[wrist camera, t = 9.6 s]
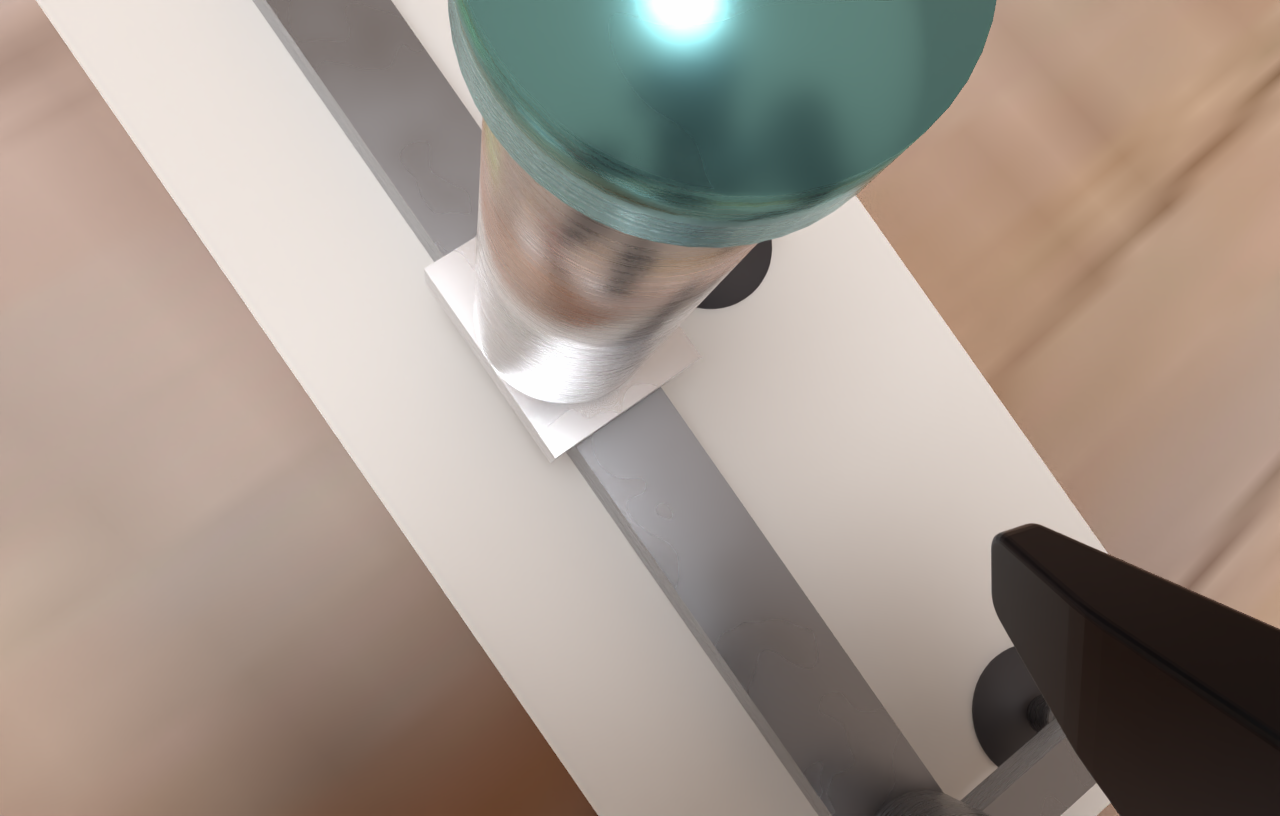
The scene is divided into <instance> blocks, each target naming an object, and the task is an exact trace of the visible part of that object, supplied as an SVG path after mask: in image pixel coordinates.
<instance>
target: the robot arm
mask: <svg viewBox="0 0 1280 816" xmlns="http://www.w3.org/2000/svg"><path fill="white" fill-rule="evenodd" d="M991 594H992V601H993V605H994V608H995V611H996V614H997V616H998V618H999V620H1000V622H1001V624H1002V626H1003V627H1004V629H1005V631H1006V633H1007V634H1008V636H1009V638H1010V640H1011V641H1012V643H1013V645H1014V647H1015V648H1016V650H1017V652H1018V654H1019V655H1020V657H1021V659H1022V661H1023V662H1024V664H1025V666H1026V668H1027V669H1028V671H1029V673H1030V675H1031V676H1032V678H1033V680H1034V682H1035V683H1036V685H1037V687H1038V689H1039V690H1040V692H1041V694H1042V696H1043V698H1044V699H1045V701H1046V703H1047V705H1048V706H1049V708H1050V710H1051V712H1052V713H1053V715H1054V717H1055V719H1056V720H1057V722H1058V724H1059V726H1060V727H1061V729H1062V731H1063V733H1064V734H1065V736H1066V738H1067V739H1068V741H1069V743H1070V744H1071V746H1072V748H1073V749H1074V751H1075V753H1076V754H1077V756H1078V757H1079V759H1080V760H1081V761H1082V763H1083V764H1084V766H1085V767H1086V769H1087V770H1088V772H1089V773H1090V775H1091V776H1092V777H1093V779H1094V780H1095V782H1096V783H1097V784H1098V786H1099V787H1100V789H1101V790H1102V791H1103V793H1104V794H1105V795H1106V797H1107V798H1108V800H1109V801H1110V802H1111V804H1112V805H1113V806H1114V808H1115V809H1116V811H1117V812H1118V813H1119V815H1120V816H1280V629H1278V628H1276V627H1274V626H1271V625H1269V624H1267V623H1265V622H1262V621H1260V620H1258V619H1255V618H1253V617H1251V616H1249V615H1246V614H1244V613H1242V612H1239V611H1237V610H1235V609H1232V608H1230V607H1228V606H1226V605H1223V604H1221V603H1219V602H1216V601H1214V600H1212V599H1210V598H1207V597H1205V596H1203V595H1200V594H1198V593H1196V592H1194V591H1191V590H1189V589H1187V588H1184V587H1182V586H1180V585H1178V584H1175V583H1173V582H1171V581H1168V580H1166V579H1164V578H1162V577H1159V576H1157V575H1155V574H1152V573H1150V572H1148V571H1146V570H1143V569H1141V568H1139V567H1136V566H1134V565H1132V564H1130V563H1127V562H1125V561H1123V560H1120V559H1118V558H1116V557H1114V556H1111V555H1109V554H1107V553H1104V552H1102V551H1100V550H1098V549H1095V548H1093V547H1091V546H1088V545H1086V544H1084V543H1082V542H1079V541H1077V540H1075V539H1072V538H1070V537H1068V536H1066V535H1063V534H1061V533H1059V532H1056V531H1054V530H1052V529H1050V528H1047V527H1045V526H1043V525H1040V524H1035V523H1028V524H1025V525H1021V526H1018V527H1015V528H1012V529H1009V530H1006V531H1003V532H1000V533H998V534H996V535H995V536H994V538H993V540H992V544H991Z"/></svg>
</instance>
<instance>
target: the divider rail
mask: <svg viewBox="0 0 1280 816" xmlns="http://www.w3.org/2000/svg"><path fill="white" fill-rule="evenodd" d="M253 2H254V3H255V5H256V6H257V8H258V9H259V11H260V12H261V13H262V15H263V16H264V18H265V19H266V21H267V22H268V23H269V25H270V26H271V28H272V29H273V31H274V32H275V34H276V35H277V36H278V38H279V39H280V41H281V42H282V44H283V45H284V47H285V48H286V49H287V51H288V52H289V54H290V55H291V57H292V58H293V59H294V61H295V62H296V64H297V65H298V67H299V68H300V70H301V71H302V72H303V74H304V75H305V77H306V78H307V80H308V81H309V83H310V84H311V85H312V87H313V88H314V90H315V91H316V93H317V94H318V96H319V97H320V98H321V100H322V101H323V103H324V104H325V106H326V107H327V108H328V110H329V111H330V113H331V114H332V116H333V117H334V119H335V120H336V121H337V123H338V124H339V126H340V127H341V129H342V130H343V132H344V133H345V134H346V136H347V137H348V139H349V140H350V142H351V143H352V144H353V146H354V147H355V149H356V150H357V152H358V153H359V155H360V156H361V157H362V159H363V160H364V162H365V163H366V165H367V166H368V168H369V169H370V170H371V172H372V173H373V175H374V176H375V178H376V179H377V180H378V182H379V183H380V185H381V186H382V188H383V189H384V191H385V192H386V193H387V195H388V196H389V198H390V199H391V201H392V202H393V204H394V205H395V206H396V208H397V209H398V211H399V212H400V214H401V215H402V217H403V218H404V219H405V221H406V222H407V224H408V225H409V227H410V228H411V229H412V231H413V232H414V234H415V235H416V237H417V238H418V240H419V241H420V242H421V244H422V245H423V247H424V248H425V250H426V251H427V253H428V254H429V255H430V257H431V258H432V260H433V261H434V262H436V261H437V260H439V259H440V258H442V257H444V256H445V255H447V254H449V253H450V252H452V251H453V250H455V249H457V248H458V247H460V246H462V245H463V244H465V243H466V242H468V241H470V240H471V239H473V238H474V237H476V236H477V223H478V201H479V180H480V158H481V137H482V130H481V128H480V127H479V125H478V124H477V123H476V121H475V120H474V118H473V117H472V115H471V114H470V113H469V111H468V110H467V108H466V107H465V105H464V104H463V103H462V101H461V100H460V98H459V97H458V95H457V94H456V92H455V91H454V90H453V88H452V87H451V85H450V84H449V82H448V81H447V80H446V78H445V77H444V75H443V74H442V72H441V71H440V70H439V68H438V67H437V65H436V64H435V62H434V61H433V60H432V58H431V57H430V55H429V54H428V52H427V51H426V49H425V48H424V47H423V45H422V44H421V42H420V41H419V39H418V38H417V37H416V35H415V34H414V32H413V31H412V29H411V28H410V27H409V25H408V24H407V22H406V21H405V19H404V18H403V16H402V15H401V14H400V12H399V11H398V9H397V8H396V6H395V5H394V4H393V2H392V1H391V0H253ZM566 453H567V454H568V456H569V457H570V458H571V460H572V461H573V463H574V464H575V466H576V467H577V469H578V470H579V471H580V473H581V474H582V476H583V477H584V479H585V480H586V482H587V483H588V484H589V486H590V487H591V489H592V490H593V492H594V493H595V495H596V496H597V497H598V499H599V500H600V502H601V503H602V505H603V506H604V507H605V509H606V510H607V512H608V513H609V515H610V516H611V518H612V519H613V520H614V522H615V523H616V525H617V526H618V528H619V529H620V531H621V532H622V533H623V535H624V536H625V538H626V539H627V541H628V542H629V543H630V545H631V546H632V548H633V549H634V551H635V552H636V554H637V555H638V556H639V558H640V559H641V561H642V562H643V564H644V565H645V567H646V568H647V569H648V571H649V572H650V574H651V575H652V577H653V578H654V579H655V581H656V582H657V584H658V585H659V587H660V588H661V590H662V591H663V592H664V594H665V595H666V597H667V598H668V600H669V601H670V603H671V604H672V605H673V607H674V608H675V610H676V611H677V613H678V614H679V616H680V617H681V618H682V620H683V621H684V623H685V624H686V626H687V627H688V628H689V630H690V631H691V633H692V634H693V636H694V637H695V639H696V640H697V641H698V643H699V644H700V646H701V647H702V649H703V650H704V652H705V653H706V654H707V656H708V657H709V659H710V660H711V662H712V663H713V664H714V666H715V667H716V669H717V670H718V672H719V673H720V675H721V676H722V677H723V679H724V680H725V682H726V683H727V685H728V686H729V688H730V689H731V690H732V692H733V693H734V695H735V696H736V698H737V699H738V700H739V702H740V703H741V705H742V706H743V708H744V709H745V711H746V712H747V713H748V715H749V716H750V718H751V719H752V721H753V722H754V724H755V725H756V726H757V728H758V729H759V731H760V732H761V734H762V735H763V737H764V738H765V739H766V741H767V742H768V744H769V745H770V747H771V748H772V749H773V751H774V752H775V754H776V755H777V757H778V758H779V760H780V761H781V762H782V764H783V765H784V767H785V768H786V770H787V771H788V773H789V774H790V775H791V777H792V778H793V780H794V781H795V783H796V784H797V785H798V787H799V788H800V790H801V791H802V793H803V794H804V796H805V797H806V798H807V800H808V801H809V803H810V804H811V806H812V807H813V809H814V810H815V811H816V813H817V814H818V816H1061V815H1062V814H1063V813H1064V812H1065V811H1066V810H1067V809H1068V808H1069V807H1071V806H1072V805H1073V804H1074V803H1075V802H1076V801H1077V800H1078V799H1079V798H1080V797H1082V796H1083V795H1084V794H1085V793H1086V792H1087V791H1088V790H1089V789H1090V788H1092V787H1093V786H1094V785H1095V784H1096V782H1095V780H1094V779H1093V777H1092V776H1091V775H1090V773H1089V772H1088V770H1087V769H1086V767H1085V766H1084V764H1083V763H1082V761H1081V760H1080V759H1079V757H1078V756H1077V754H1076V753H1075V751H1074V749H1073V748H1072V746H1071V744H1070V743H1069V741H1068V739H1067V738H1066V736H1065V734H1064V733H1063V731H1062V729H1061V727H1060V726H1059V724H1058V722H1057V720H1056V719H1055V717H1054V715H1053V713H1052V712H1051V710H1050V708H1049V706H1048V705H1047V703H1046V701H1045V699H1044V698H1043V696H1042V695H1039V696H1036V697H1035V698H1033V699H1032V700H1031V702H1030V703H1029V705H1028V708H1027V720H1028V722H1029V725H1030V726H1031V728H1032V729H1033V730H1034V731H1036V732H1037V734H1036V735H1035V736H1034V737H1033V738H1031V739H1030V740H1029V741H1028V742H1027V743H1026V744H1025V745H1023V746H1022V747H1021V748H1020V749H1019V750H1018V751H1017V752H1015V753H1014V754H1013V755H1012V756H1011V757H1010V758H1009V759H1007V760H1006V761H1005V762H1004V763H1003V764H1002V765H1001V766H999V767H998V768H997V769H996V770H995V771H994V772H993V773H991V774H990V775H989V776H988V777H987V778H986V779H984V780H983V781H982V782H981V783H980V784H979V785H978V786H976V787H975V788H974V789H973V790H972V791H971V792H970V793H968V794H967V795H966V796H965V797H964V798H963V799H962V800H960V801H959V800H957V799H955V798H953V797H951V796H949V795H947V794H945V793H944V792H943V791H942V790H941V788H940V787H939V785H938V784H937V782H936V781H935V780H934V778H933V777H932V775H931V774H930V772H929V771H928V770H927V768H926V767H925V765H924V764H923V762H922V761H921V760H920V758H919V757H918V755H917V754H916V752H915V751H914V749H913V748H912V747H911V745H910V744H909V742H908V741H907V739H906V738H905V737H904V735H903V734H902V732H901V731H900V729H899V728H898V727H897V725H896V724H895V722H894V721H893V719H892V718H891V716H890V715H889V714H888V712H887V711H886V709H885V708H884V706H883V705H882V704H881V702H880V701H879V699H878V698H877V696H876V695H875V694H874V692H873V691H872V689H871V688H870V686H869V685H868V683H867V682H866V681H865V679H864V678H863V676H862V675H861V673H860V672H859V671H858V669H857V668H856V666H855V665H854V663H853V662H852V661H851V659H850V658H849V656H848V655H847V653H846V652H845V650H844V649H843V648H842V646H841V645H840V643H839V642H838V640H837V639H836V638H835V636H834V635H833V633H832V632H831V630H830V629H829V628H828V626H827V625H826V623H825V622H824V620H823V619H822V617H821V616H820V615H819V613H818V612H817V610H816V609H815V607H814V606H813V605H812V603H811V602H810V600H809V599H808V597H807V596H806V595H805V593H804V592H803V590H802V589H801V587H800V586H799V585H798V583H797V582H796V580H795V579H794V577H793V576H792V574H791V573H790V572H789V570H788V569H787V567H786V566H785V564H784V563H783V562H782V560H781V559H780V557H779V556H778V554H777V553H776V552H775V550H774V549H773V547H772V546H771V544H770V543H769V541H768V540H767V539H766V537H765V536H764V534H763V533H762V531H761V530H760V529H759V527H758V526H757V524H756V523H755V521H754V520H753V519H752V517H751V516H750V514H749V513H748V511H747V510H746V508H745V507H744V506H743V504H742V503H741V501H740V500H739V498H738V497H737V496H736V494H735V493H734V491H733V490H732V488H731V487H730V486H729V484H728V483H727V481H726V480H725V478H724V477H723V475H722V474H721V473H720V471H719V470H718V468H717V467H716V465H715V464H714V463H713V461H712V460H711V458H710V457H709V455H708V454H707V453H706V451H705V450H704V448H703V447H702V445H701V444H700V442H699V441H698V440H697V438H696V437H695V435H694V434H693V432H692V431H691V430H690V428H689V427H688V425H687V424H686V422H685V421H684V420H683V418H682V417H681V415H680V414H679V412H678V411H677V410H676V408H675V407H674V405H673V404H672V402H671V401H670V399H669V398H668V397H667V395H666V394H665V392H664V391H663V389H662V388H661V387H660V388H659V389H657V390H656V391H654V392H653V393H652V394H650V395H649V396H647V397H646V398H644V399H643V400H641V401H640V402H639V403H637V404H636V405H634V406H633V407H631V408H630V409H628V410H627V411H625V412H624V413H623V414H621V415H620V416H618V417H617V418H615V419H614V420H612V421H611V422H609V423H608V424H607V425H605V426H604V427H602V428H601V429H599V430H598V431H596V432H595V433H594V434H592V435H591V436H589V437H588V438H586V439H585V440H583V441H582V442H580V443H579V444H578V445H576V446H575V447H573V448H572V449H570V450H569V451H567V452H566Z"/></svg>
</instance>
